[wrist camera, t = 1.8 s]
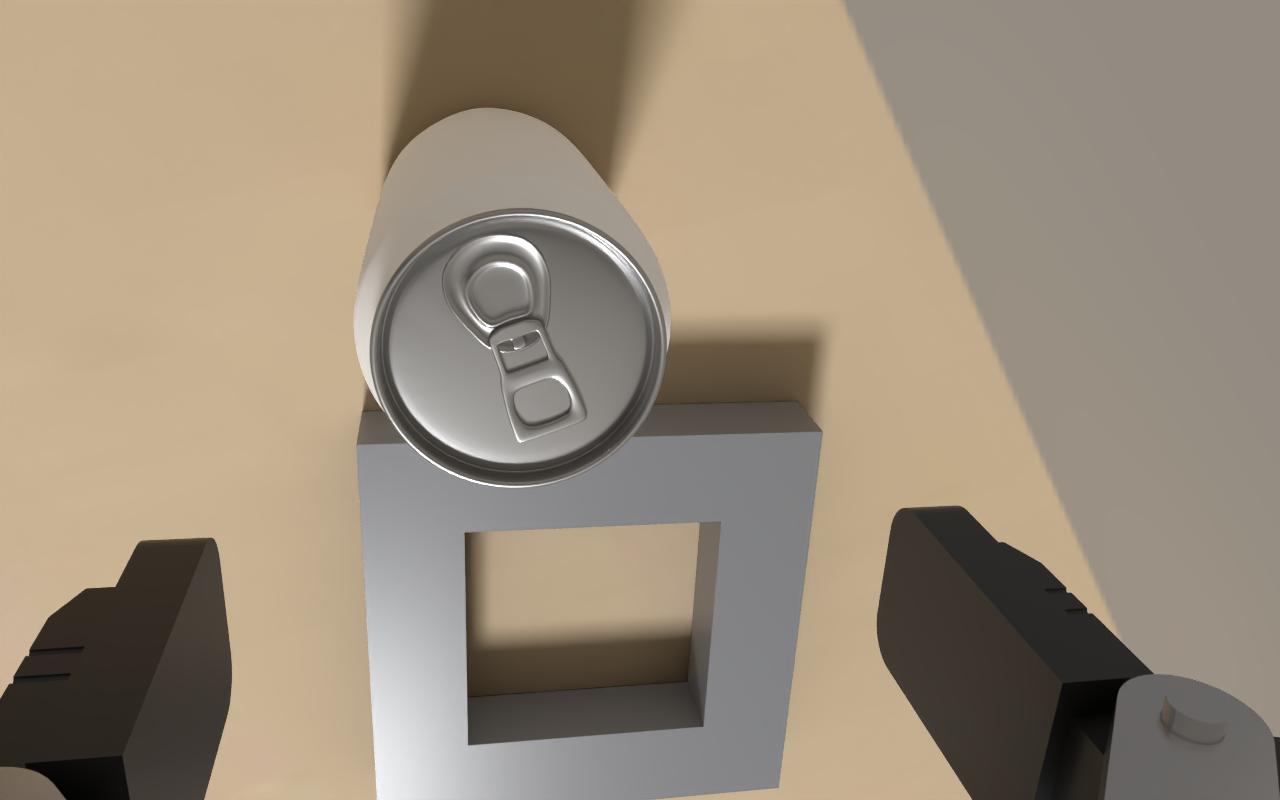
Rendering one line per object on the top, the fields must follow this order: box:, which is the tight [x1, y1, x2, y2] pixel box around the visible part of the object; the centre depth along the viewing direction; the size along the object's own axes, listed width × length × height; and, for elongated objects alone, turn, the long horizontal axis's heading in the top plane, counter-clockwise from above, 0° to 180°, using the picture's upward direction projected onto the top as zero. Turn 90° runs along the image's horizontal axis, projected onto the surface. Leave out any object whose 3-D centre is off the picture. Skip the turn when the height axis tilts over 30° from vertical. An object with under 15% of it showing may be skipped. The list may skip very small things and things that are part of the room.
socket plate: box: [357, 401, 823, 800], centre depth 35 cm, size 14×14×2 cm
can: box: [354, 108, 671, 488], centre depth 25 cm, size 6×6×12 cm
